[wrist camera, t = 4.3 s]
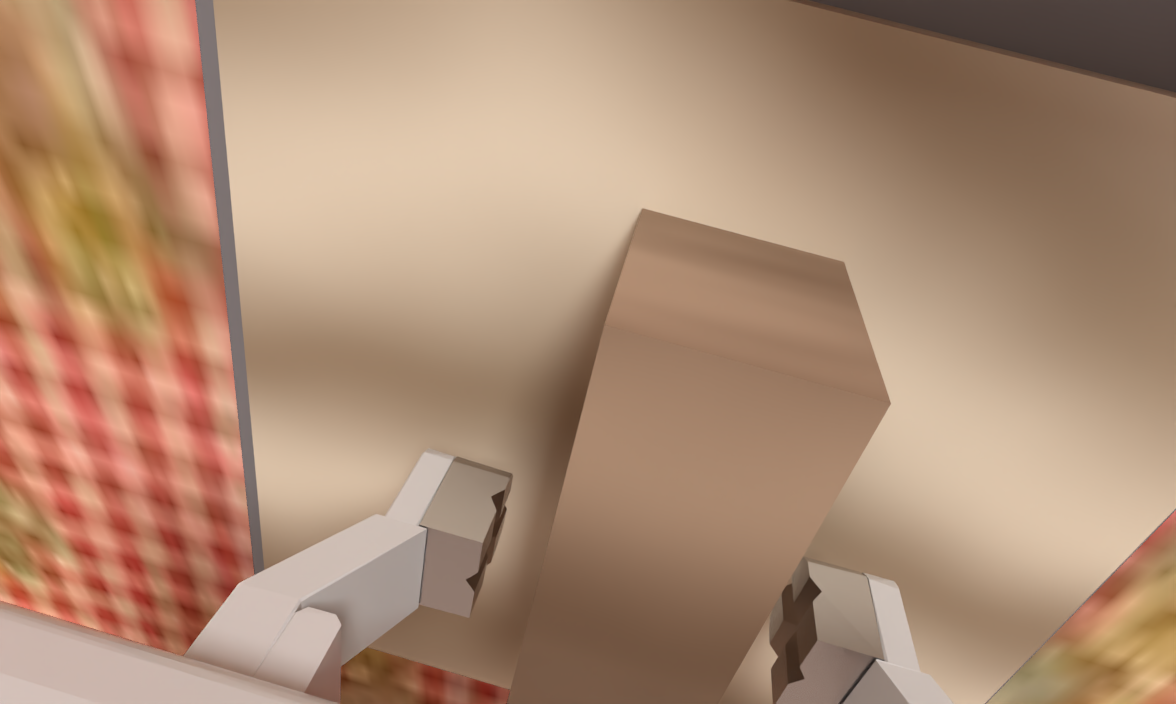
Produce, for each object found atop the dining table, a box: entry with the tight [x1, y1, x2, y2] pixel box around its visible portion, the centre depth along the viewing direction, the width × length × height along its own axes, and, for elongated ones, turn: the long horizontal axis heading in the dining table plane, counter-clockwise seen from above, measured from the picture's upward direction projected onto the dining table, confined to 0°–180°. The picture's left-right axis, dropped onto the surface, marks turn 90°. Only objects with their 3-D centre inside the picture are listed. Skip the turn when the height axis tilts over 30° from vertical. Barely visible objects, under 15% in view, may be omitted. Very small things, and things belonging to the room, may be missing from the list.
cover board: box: [213, 0, 1176, 704], centre depth 12 cm, size 16×16×4 cm
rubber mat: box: [195, 0, 1176, 704], centre depth 14 cm, size 18×18×1 cm
